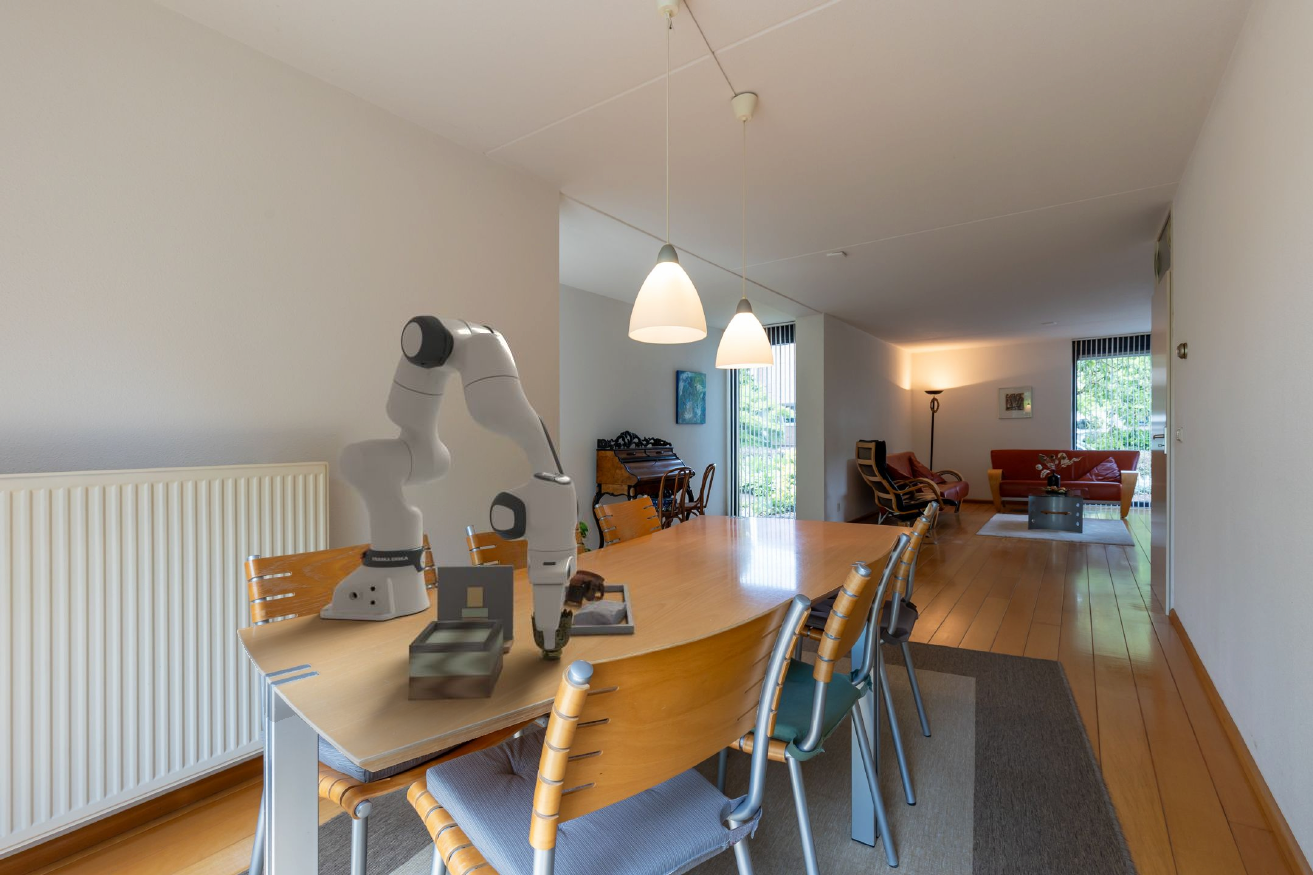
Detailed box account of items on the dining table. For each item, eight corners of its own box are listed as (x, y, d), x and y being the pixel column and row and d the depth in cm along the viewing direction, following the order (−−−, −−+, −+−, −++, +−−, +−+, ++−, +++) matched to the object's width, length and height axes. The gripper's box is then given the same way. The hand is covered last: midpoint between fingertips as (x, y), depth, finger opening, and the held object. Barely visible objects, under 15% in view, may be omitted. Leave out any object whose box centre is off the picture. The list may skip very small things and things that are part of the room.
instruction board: (431, 654, 109) (431, 572, 108) (440, 642, 114) (440, 564, 114) (509, 652, 110) (509, 570, 110) (514, 641, 116) (514, 563, 116)
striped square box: (408, 699, 90) (408, 645, 90) (431, 668, 102) (431, 620, 102) (489, 697, 91) (490, 643, 91) (502, 666, 103) (503, 619, 103)
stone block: (570, 638, 124) (616, 631, 122) (566, 614, 124) (612, 608, 122) (588, 622, 135) (630, 616, 133) (584, 601, 136) (626, 595, 134)
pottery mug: (556, 600, 146) (567, 568, 150) (589, 613, 150) (599, 582, 153) (576, 599, 136) (587, 565, 140) (610, 613, 140) (621, 579, 143)
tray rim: (549, 635, 119) (549, 627, 119) (560, 591, 153) (561, 585, 153) (634, 633, 121) (634, 625, 121) (627, 589, 155) (627, 584, 155)
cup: (539, 648, 112) (539, 606, 112) (577, 650, 111) (577, 607, 111) (524, 663, 104) (525, 617, 104) (565, 665, 103) (565, 619, 103)
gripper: (540, 552, 118) (540, 622, 118) (527, 576, 97) (527, 661, 97) (572, 551, 118) (572, 621, 118) (566, 575, 98) (566, 660, 98)
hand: (551, 639), depth 107 cm, fingers closed on cup, 7 cm apart
